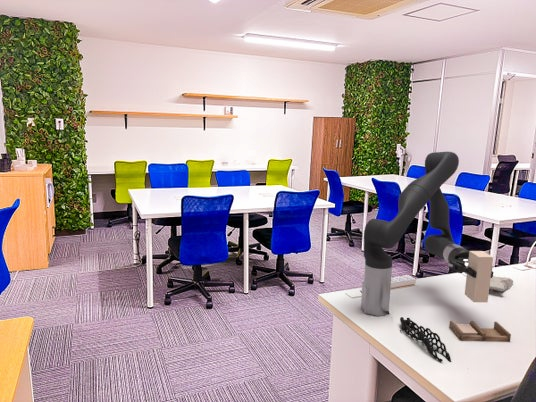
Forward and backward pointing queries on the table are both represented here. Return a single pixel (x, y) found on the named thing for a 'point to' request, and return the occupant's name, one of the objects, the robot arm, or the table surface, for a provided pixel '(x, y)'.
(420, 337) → the decorative element
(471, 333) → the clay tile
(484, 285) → the beige wooden block
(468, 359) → the table surface
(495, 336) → the wooden open-ended tray
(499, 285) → the rock
